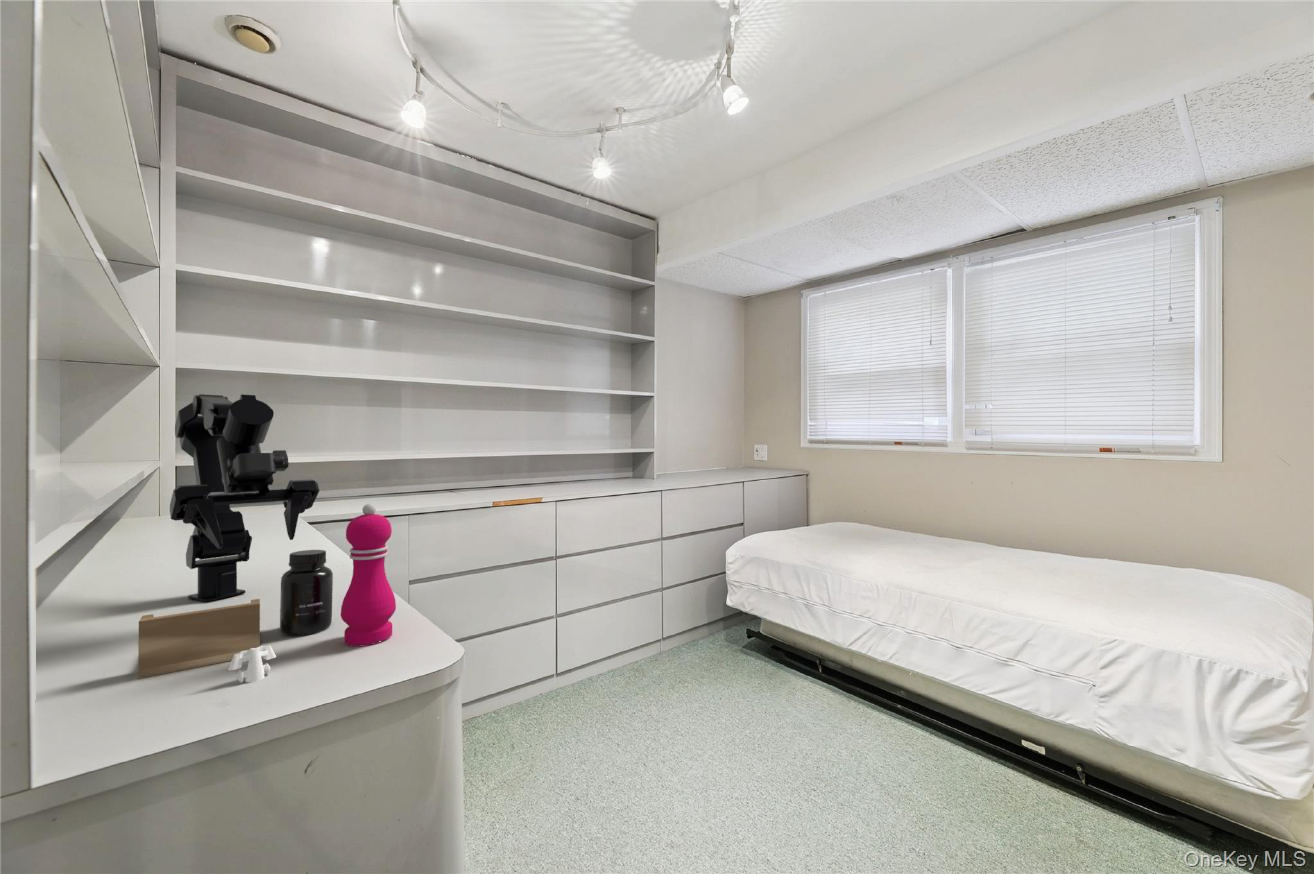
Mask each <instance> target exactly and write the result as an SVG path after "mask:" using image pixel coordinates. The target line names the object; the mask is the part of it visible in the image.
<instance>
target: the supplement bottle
mask: <svg viewBox="0 0 1314 874" xmlns="http://www.w3.org/2000/svg"><path fill="white" fill-rule="evenodd" d="M288 559H289V562H288V566H289V567H290V569H288V570H286V571H285V572H284V573H283V574H282V576H281V578H280V597H279V598H280V605H279V631H280V633H281V634H282V635H283V636H289V637H297V636H298V637H301V636H309V635H313V634H317V633H320V632H322V631H325V630H327V629H328V628H330V626H331V625H332V621H333V619H332V618H333V591H334V589H333V586H334V580H333V579H334V573H333V570H332V569H331V568H329V567H328V566H325V564H326V563H327V551H326V550H324V549H305V550H298V551H294V552H290V554H289V558H288Z"/></svg>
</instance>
